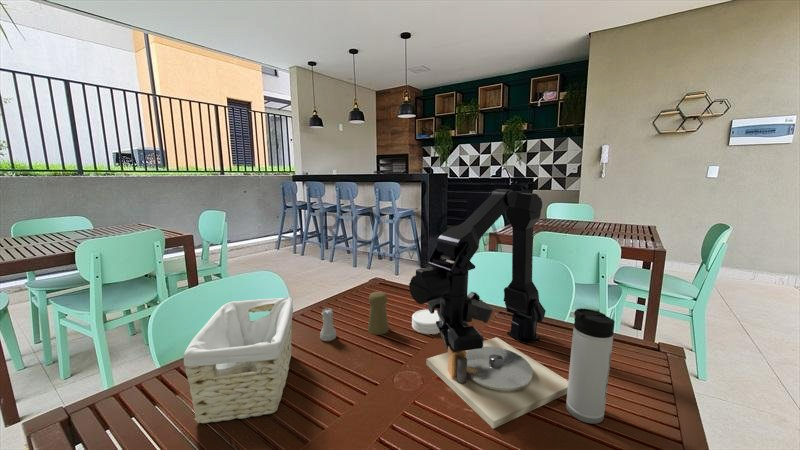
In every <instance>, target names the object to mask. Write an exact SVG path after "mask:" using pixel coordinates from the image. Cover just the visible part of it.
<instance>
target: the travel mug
mask: <svg viewBox="0 0 800 450" xmlns="http://www.w3.org/2000/svg"><path fill="white" fill-rule="evenodd" d="M573 312H574V313H573V316H574V324H573V330H572V340H571V349H570V360H569V361H570V362H569V369H568V390H567V394H566V403H565V407H566V410H567V412H568V413H569V414H570V415H571V416H572V417H573V418H575V419H577V420H579V421H581V422H583V423H585V424H586V423H587V424H592V425H593V424H594V425H595V424H599V423H601V422H603V420H604V418H605V411H606V410H605V409H606V403H607V394H608V393H607V392H608V385H609V378H610V377H609V376H610V369H611V368H610V367H611V359H612V350H613V343H614V331H615V330H614V329H615V323H616V322H615V320H614V319H613V318H612V317H609V316H607V315H606V314H605V313H602V312H600V311H597V310H593V309H589V308H577V309H575V310H574V311H573Z"/></svg>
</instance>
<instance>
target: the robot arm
mask: <svg viewBox="0 0 800 450" xmlns="http://www.w3.org/2000/svg"><path fill="white" fill-rule="evenodd" d="M542 209H543V201H542V198H541V197H540V196H539V194H538V193H535V192H534V193H532V192H529V193H528V192H518V191H515V190H512V189H505V188H503V189H502V188H500V189H499V188H497V189H494V190H492V191H491V192H490V195H489V196H488V198H486V199H485V201H483V202H482V203H481V204H480V206H479V207H477V208H476V209H475V210H474V211H473V212H472V214H471V215H469V216H468V217H467V218H466V220H465V221H463V222H462V223H460V224H458V225H455V226H452V227H450V228H448V229H447V230H446V231H444V232H443V233H441V234H440V235H439V236H438V238H437V239H436V242H435V243H436V244H435V245H434V247H433V249H432V251H431V253H430V255H429V258H428V259H427V261H426V265H427V266H428V267H424V268H417V269H415V275H413V276H412V278H411V279H410V281H409V283H408V287H409V288H408V289H409V292H410V295H411V297H412V300H414V302H415V303H416V304H418V305H425V304H427V310H429V311H430V313H431V314H433V313H434V311H435V309H437V310H436V311H437V313H438V316H439V321H436V325H437V327H438V329H439V332H440V333H439V334H440V336H441V339H442V341H443V344H444V346H445V348H446V351H447V352H448V345H451V346H452V348H453V350H455V351H465V350H473V349H481V348H482V347H483V342H484V341H485V339H484V337H483V336H482V334H481V333H480V331H478V330H477V328H476V327H475V326H474V325H469V324H468V323H472V322H473V320H476V321H480V322H483V323H485V324H488V322H489V321H490V317H491V315H492V314H493V313H492V312H493V308H492V307H491V306H490V305H489V304H488V303H486V302H485V301H483V300H482V299H481V297H480V295H479V294H478V293H477V292H475V291H470V292H469V293H468V287H469V271H472V270H475V269H476V265H475V264H474V263H472V261H471V260H472V258H473V257H474V255H475V254H476V252H478V250H479V245H480V239H481V238H482V237H483V236H484V235H485V234H486V232H488V230H489V229H490V228H492V226H493V225H494V224H495V223H496V222H497V221H498V220H499V218H501V217H502V216H503V214H505V218H506V219H507V221H508V223H509V225H510V227H511V228H512V229H511V230H512V236H511V237H512V238H511V239H512V242H511V243H512V244H511V245H512V246H511V247H512V250H511V251H512V252H511V254H512V255H511V257H512V258H511V266H512V267H511V281H510V283H509V284H508V285H507V286H505V287H504V288H503V294H504V295H503V302H504V304H505V309H506V312H507V313H510V314H512V316H511V322H510V323H511V324H510V330H507V332H506V334H507V335H509V336H510V337H512V338H513V339H516V340H517V341H519V342H521V343H522V344H525V345H526V344H528V343H531V342H535V341H537V340H539V339H541V338H542V337H541V335H539V334H538V333H537V326H538V323H542V322H543V319H545V316H546V309H545V307H544V306H543V304H542V303H541V302H540V295H539V294H540V293H539V290H538V289H537V287H536V285H535V284H534V282H533V254H534V253H533V251H534V249H533V248H534V247H533V246H534V226H535V225H536V224H537V223H538V222H539V220H540V218H541V214H542ZM442 259H445V260H442ZM446 260H447V261H446ZM449 261H451V262H449Z"/></svg>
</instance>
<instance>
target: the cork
mask: <svg viewBox="0 0 800 450" xmlns="http://www.w3.org/2000/svg"><path fill="white" fill-rule="evenodd" d="M368 302H369V304H370V309H369V315H368V317H369V318H368V325H367V333H369V334H371V335H374V336H379V335H385V334H387V333H388V332H389V329H390V327H389V320H388V313H387V307H386V304H387V303H388V296H387V294H386V293H385V292H383V291H374V292H371V293H370V294H369V296H368Z"/></svg>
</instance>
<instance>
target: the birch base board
mask: <svg viewBox="0 0 800 450" xmlns="http://www.w3.org/2000/svg"><path fill="white" fill-rule="evenodd" d="M486 346H487V347H498V348H503V349H506V350H509V351H512V352H514V353H516V354H518V355H520V356H521V357H523V358H524V359H525V360H526V361H527V362H528V363H529V364H530V366H531V367H532V371H533V374H532V381H531V383H530V384H529V385H528V386H527V387H526V388H524V389H522V390H519V391H514V392H499V391H493V390H489V389H486V388H483V387H481V386H479V385H477V384H475V383H473V382H472V381H470V380H469V379H468V378H467V358H465V357H458V358H457V377H454V378H451V376H450V373H449V371H448V351H447V352H444V353H440V354H437V355H434V356H431V357H427V358H426V366H427V367H428V368H430V370H431V371H432V372H434V373H435V374H436V376H438V377H439V378H440V379H441V380H442V381H443V382H444V384H446V385H447V386H448V387H449V388H450V389H451V390H452V391H453V392H454V393H455V394H457V396H458V397H460V398H461V399H462V401H463V402H464V403H466V404H467V405H468V406H469V407H470V408H471V409H472V410H473V411H474V412H475V413H476V414H477V415H478V416H479V417H480V418H481V419H482V420H483V421H484V422H486V423H487V424H488V425H489V426H490V428H491V429H492V430H494V429H496V428H498V427H500V426H502V425H505V424H506V423H508V422H510V421H513V420H515V419H517V418H519V417H521V416H523V415H526V414H527V413H531V411H532V412H533V410H536V409H538V408H540V407H542V406H544V405H546V404H549V403H551V402H552V401H554V400H557V399H559V398H561V397H563V396H565V395H566V396H567V390H568V380H569V379H568V380H567V379H566V378H564V377H562V376H561V375H559V374H557V372H555V371H552V369H550V368H548V367H546V366H544V365H543V364H541V363H540V362H538V361H537V360H535V359H533V358H532V357H530V356H528V355H526V354H525V353H523V352H522V351H520V350H519V349H517V348H515V347H514V346H512V345H510V344H508V343H507V342H505V341H504V340H502V339H501V338H499V337H497V336H496V337H494V338H493V337H492V338H489V339H486V340H484V342H483V347H486ZM465 351H466V352H467V351H468V350H465Z"/></svg>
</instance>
